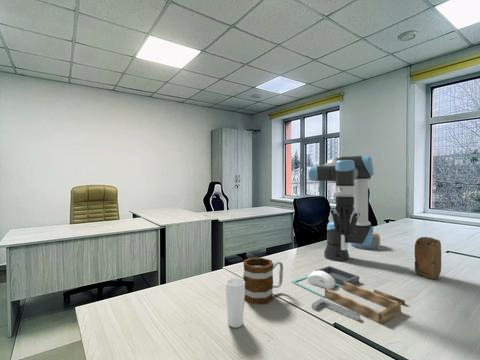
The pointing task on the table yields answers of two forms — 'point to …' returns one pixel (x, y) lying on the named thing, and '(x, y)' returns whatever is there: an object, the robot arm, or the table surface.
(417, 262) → the block
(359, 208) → the robot arm
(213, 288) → the table surface
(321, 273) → the computer mouse
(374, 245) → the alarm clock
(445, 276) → the table surface
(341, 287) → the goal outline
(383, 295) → the walnut dowel
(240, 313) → the drinking glass
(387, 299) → the wooden u-shaped frame
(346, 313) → the grey l-shaped bar
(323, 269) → the grey tray
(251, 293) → the mug
